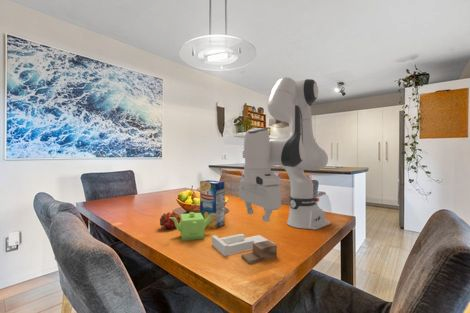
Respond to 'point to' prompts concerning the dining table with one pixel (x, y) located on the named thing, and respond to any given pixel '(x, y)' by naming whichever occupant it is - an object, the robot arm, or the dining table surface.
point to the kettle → (191, 226)
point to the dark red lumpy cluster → (169, 220)
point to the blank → (261, 252)
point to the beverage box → (213, 202)
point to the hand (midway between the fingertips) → (257, 217)
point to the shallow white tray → (235, 243)
